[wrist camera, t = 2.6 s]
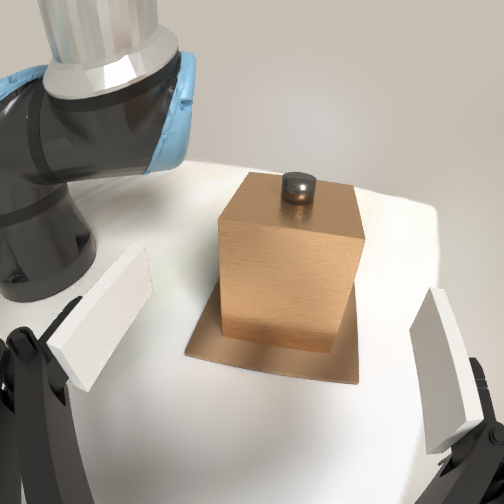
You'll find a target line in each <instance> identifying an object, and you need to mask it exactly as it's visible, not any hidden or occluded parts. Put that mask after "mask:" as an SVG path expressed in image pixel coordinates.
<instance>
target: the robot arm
mask: <svg viewBox="0 0 504 504" xmlns="http://www.w3.org/2000/svg"><path fill="white" fill-rule="evenodd" d="M38 5H39V8H40V13H41V16H42V20H43V24H44V27H45V31H46V34H47V37H48V41H49V44H50V48H51V51H52V54H53V58H52V60H51V62H50V63H49V65H40V66H35V67H31V68H28V69H24V70H22V71H19V72H17V73H15V74H13V75H11V76H7V77H5V78H2V79H0V293H1V294H2V295H3V296H4V297H5V298H7V299H9V300H11V301H15V302H32V301H37V300H41V299H44V298H47V297H49V296H52V295H54V294H56V293H58V292H60V291H62V290H64V289H65V288H67V287H69V286H70V285H71V284H73V283H74V282H75V281H77V280H78V279H79V278H80V277H81V276H82V275H83V274H84V273H85V272H86V271H87V270H88V268H89V267H90V266H91V264H92V262H93V260H94V258H95V255H96V245H95V241H94V238H93V234H92V231H91V229H90V227H89V225H88V224H87V222H86V221H85V219H84V218H83V216H82V214H81V213H80V211H79V210H78V208H77V206H76V205H75V203H74V201H73V200H72V198H71V196H70V194H69V191H68V186H67V182H72V181H80V180H89V179H97V178H107V177H117V176H128V175H140V174H142V175H147V174H149V173H150V172H156V171H163V170H170V169H174V168H176V167H178V166H179V165H180V164H181V163H182V162H183V161H184V159H185V157H186V154H187V149H188V142H189V135H190V126H191V115H192V107H191V106H192V103H193V94H194V86H195V71H196V58H195V56H194V55H193V54H192V53H187V52H184V51H180V52H178V39H177V36H176V35H175V33H174V32H172V31H171V30H170V29H168V28H166V27H165V26H163V25H161V24H159V23H158V16H157V0H38ZM152 293H153V286H152V282H151V277H150V272H149V267H148V261H147V256H146V251H145V246H140V245H134V244H131V245H130V246H129V247H128V248H127V249H126V250H125V251H124V252H123V254H122V255H121V256H120V257H119V258H118V259H117V260H116V261H115V262H114V263H113V264H112V265H111V266H110V268H109V269H108V270H107V271H106V272H105V273H104V274H103V275H102V276H101V278H100V279H99V280H98V281H97V282H96V283H95V284H94V285H93V287H92V288H91V289H90V290H89V291H88V292H87V293H86V295H85V296H84V297H82V296H78V297H77V298H75V299H74V300H72V301H71V302H69V303H68V305H67V306H66V307H65V308H64V309H63V312H61V313H60V314H59V315H58V316H57V318H56V319H55V320H54V321H53V322H52V324H51V325H50V326H49V327H48V329H47V330H46V331H45V332H44V333H43V335H42V336H41V337H40V338H39V340H37V339H36V337H35V335H34V334H33V332H32V331H31V329H30V328H28V327H19V328H17V329H15V330H13V331H12V332H11V333H10V334H9V336H8V337H7V340H6V344H7V345H8V347H7V345H6V344H5V342H4V341H3V340H2V339H0V504H21V477H22V483H23V488H24V493H25V498H26V502H27V504H94V501H93V498H92V495H91V492H90V489H89V485H88V482H87V478H86V475H85V471H84V468H83V464H82V460H81V456H80V452H79V447H78V443H77V438H76V434H75V429H74V423H73V418H72V412H71V406H70V399H69V392H68V387H67V384H66V382H67V380H68V379H70V380H71V382H72V383H73V385H74V386H75V387H78V388H80V389H82V390H84V391H86V392H89V390H90V389H91V387H92V385H93V384H94V382H95V380H96V379H97V377H98V376H99V374H100V372H101V371H102V369H103V367H104V366H105V364H106V363H107V361H108V360H109V358H110V356H111V355H112V353H113V352H114V350H115V348H116V347H117V345H118V344H119V342H120V341H121V339H122V338H123V336H124V335H125V333H126V331H127V330H128V328H129V327H130V325H131V324H132V322H133V321H134V319H135V318H136V316H137V315H138V313H139V312H140V310H141V309H142V307H143V306H144V304H145V303H146V301H147V300H148V299H149V297H150V296H151V294H152ZM409 332H410V337H411V341H412V346H413V352H414V357H415V363H416V368H417V374H418V381H419V387H420V394H421V402H422V410H423V419H424V429H425V441H426V454H437V453H443V452H445V451H446V450H447V449H448V448H450V447H451V451H452V453H451V454H450V455H449V456H447V457H446V458H444V459H443V460H442V461H440V462H439V463H438V465H439V466H440V465H441V464H442V463H444V464H443V465H442V467H441V468H440V470H439V471H438V473H437V474H436V476H435V477H434V479H433V480H432V481H431V483H430V484H429V485H428V487H427V488H426V489H425V491H424V492H423V493H422V495H421V496H420V497H419V498H418V500H417V501H416V502H415V504H504V426H503V424H501V423H499V422H497V421H496V418H495V414H494V409H493V406H492V401H491V397H490V393H489V390H488V389H487V387H488V386H487V382H486V380H485V375H484V372H483V369H482V367H481V365H480V364H479V362H478V361H477V360H476V358H468V355H467V352H466V348H465V345H464V342H463V340H462V336H461V333H460V331H459V328H458V325H457V322H456V319H455V317H454V314H453V311H452V309H451V306H450V304H449V301H448V299H447V296H446V294H445V291H444V289H440V288H432V287H430V288H429V290H428V292H427V294H426V297H425V299H424V301H423V303H422V305H421V307H420V310H419V312H418V314H417V316H416V318H415V320H414V322H413V324H412V326H411V328H410V330H409ZM2 383H4V384H5V388H4V390H2V388H1V387H2Z"/></svg>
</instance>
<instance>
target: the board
mask: <svg viewBox="0 0 504 504" xmlns="http://www.w3.org/2000/svg"><path fill="white" fill-rule="evenodd" d="M185 355H186V356H190V357H194V358H198V359H202V360H206V361H211V362H215V363H220V364H224V365H229V366H234V367H239V368H244V369H249V370H254V371H260V372H265V373H271V374H277V375H283V376H290V377H296V378H303V379H311V380H319V381H327V382H336V383H346V384H356V385H357V384H358V383H359V358H358V331H357V313H356V299H355V286H354V282H353V286H352V289H351V292H350V295H349V299H348V302H347V305H346V308H345V311H344V314H343V317H342V320H341V323H340V326H339V329H338V332H337V335H336V338H335V341H334V344H333V346H332V349H331V352H330V354H325V353H317V352H310V351H303V350H296V349H290V348H283V347H277V346H271V345H265V344H259V343H254V342H248V341H243V340H238V339H233V338H228V337H223V333H222V314H221V292H220V277H219V279H218V282H217V284H216V286H215V288H214V290H213V292H212V294H211V296H210V299H209V301H208V303H207V305H206V307H205V309H204V311H203V314H202V316H201V318H200V320H199V322H198V324H197V327H196V329H195V331H194V333H193V335H192V337H191V340H190V342H189V344H188V346H187V348H186V350H185Z"/></svg>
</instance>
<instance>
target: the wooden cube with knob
mask: <svg viewBox="0 0 504 504" xmlns="http://www.w3.org/2000/svg"><path fill="white" fill-rule="evenodd" d="M218 236H219V267H220V292H221V314H222V333H223V337H228V338H233V339H238V340H243V341H248V342H254V343H259V344H265V345H271V346H277V347H283V348H290V349H296V350H303V351H310V352H317V353H325V354H330V352H331V349H332V346H333V344H334V341H335V338H336V335H337V332H338V329H339V326H340V323H341V320H342V317H343V314H344V311H345V308H346V305H347V302H348V299H349V295H350V292H351V289H352V286H353V282H354V279H355V275H356V272H357V269H358V265H359V261H360V258H361V254H362V250H363V247H364V243H365V235H364V231H363V226H362V221H361V217H360V212H359V208H358V204H357V200H356V195H355V191H354V187H353V186H352V185H347V184H340V183H334V182H327V181H320V180H316V178H315V177H313V176H312V175H309V174H306V173H301V172H289V173H285V174H283V176H282V175H274V174H265V173H255V172H249V173H248V175H247V176H246V178H245V179H244V181H243V182H242V184H241V185H240V187H239V188H238V190H237V191H236V193H235V194H234V196H233V197H232V199H231V200H230V202H229V203H228V205H227V206H226V208H225V209H224V211H223V212H222V214H221V215H220V217H219V218H218Z"/></svg>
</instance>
